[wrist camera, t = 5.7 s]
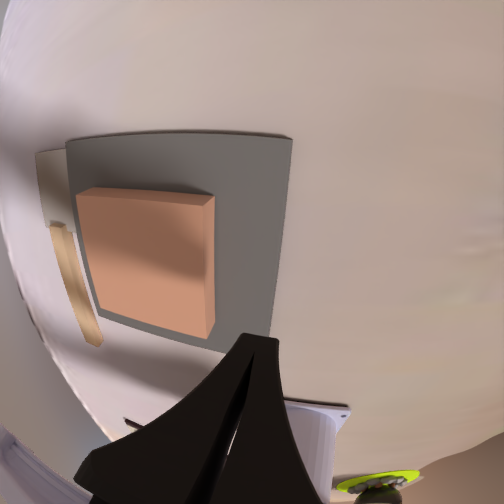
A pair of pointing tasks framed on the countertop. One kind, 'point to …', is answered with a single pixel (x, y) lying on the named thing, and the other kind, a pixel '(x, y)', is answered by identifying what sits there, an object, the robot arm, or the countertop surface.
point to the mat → (225, 214)
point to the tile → (152, 255)
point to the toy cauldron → (378, 486)
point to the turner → (65, 236)
